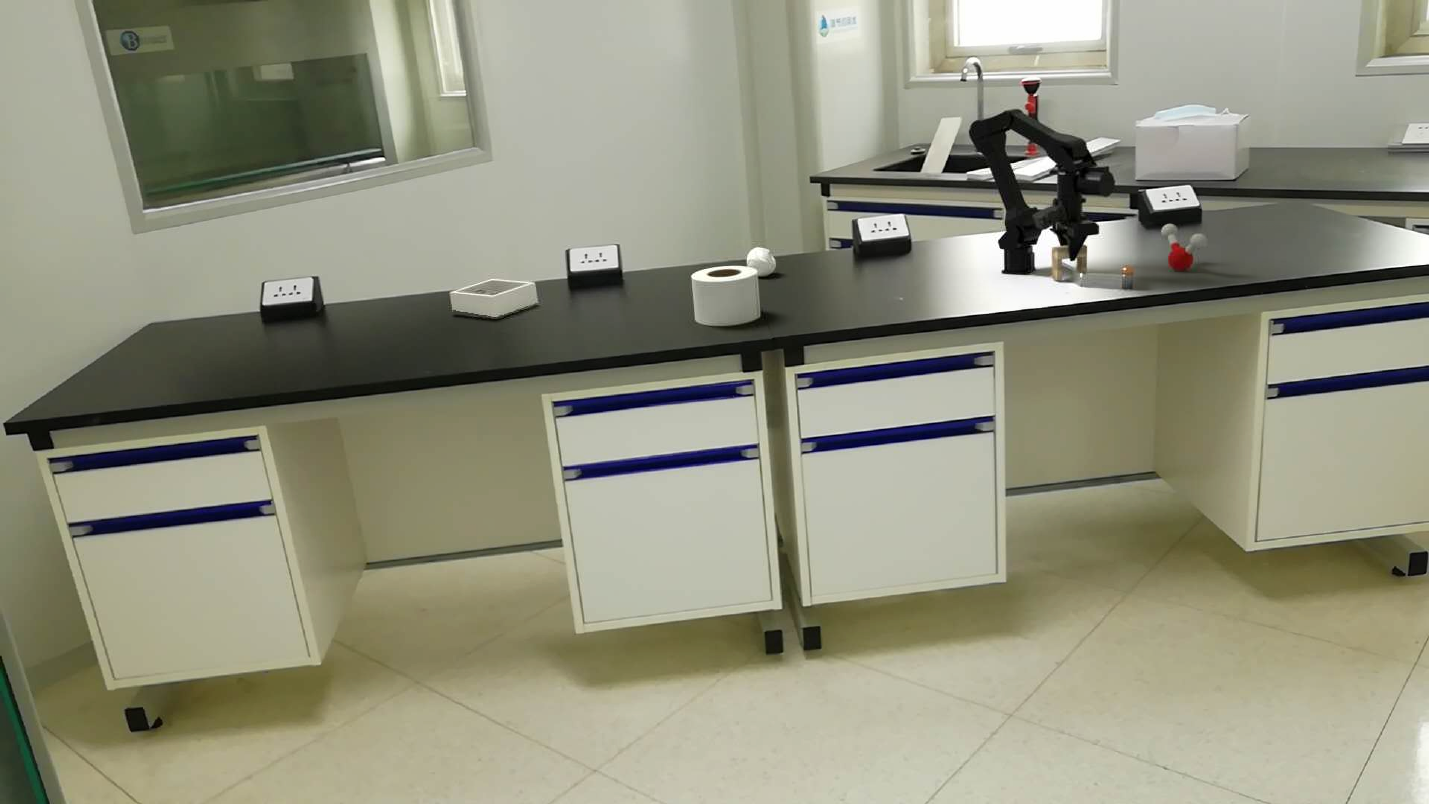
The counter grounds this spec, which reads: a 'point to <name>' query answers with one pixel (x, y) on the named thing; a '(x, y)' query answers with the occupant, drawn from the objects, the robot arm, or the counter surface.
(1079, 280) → the bent rail
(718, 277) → the toilet paper roll
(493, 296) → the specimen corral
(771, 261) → the crumpled paper ball
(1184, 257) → the molecular model
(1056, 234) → the robot arm
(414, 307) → the counter surface
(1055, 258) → the arch
